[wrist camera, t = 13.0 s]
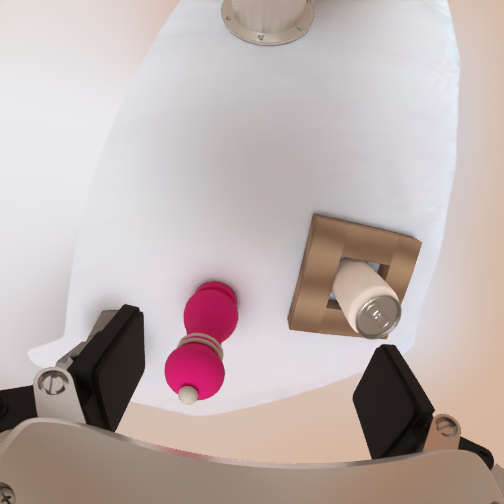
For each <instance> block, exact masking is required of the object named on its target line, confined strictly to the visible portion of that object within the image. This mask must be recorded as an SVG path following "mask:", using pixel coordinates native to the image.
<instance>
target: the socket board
mask: <svg viewBox="0 0 504 504" xmlns="http://www.w3.org/2000/svg"><path fill="white" fill-rule="evenodd" d="M421 244H422V242H421V241H419V240H417V239H415V238H414V237H411V236H407V235H403V234H400V233H396V232H391V231H387V230H383V229H379V228H375V227H371V226H366V225H362V224H358V223H353V222H349V221H344V220H340V219H335V218H331V217H326V216H321V215H316V214H313V218H312V223H311V227H310V232H309V236H308V240H307V244H306V249H305V253H304V257H303V261H302V265H301V269H300V273H299V277H298V281H297V285H296V289H295V293H294V297H293V301H292V304H291V308H290V312H289V315H288V324H289V330H297V331H305V332H313V333H322V334H331V335H341V336H352V337H362V336H361V335H360V334H359V333H357V332H356V331H354V330H353V328H352V327H351V326H350V324H349V322H348V320H347V318H346V317H345V315H344V313H343V311H342V309H341V307H340V305H339V303H338V301H337V300H331V299H329V296H330V293H331V290H332V286H333V283H334V280H335V276H336V273H337V269H338V266H339V262H340V259H341V256H343V257H348V258H354V259H359V260H364V261H369V262H375V263H380V267H379V270H378V273H377V274H378V275H379V276H380V277H381V278H382V279H383V280H384V281H385V282H386V283H387V284H388V285H389V286H390V287H391V288H392V289H393V291H394V292H395V293H396V295H397V297H398V300H399V303H400V305H401V303H402V301H403V298H404V295H405V293H406V290H407V287H408V284H409V282H410V279H411V276H412V273H413V270H414V267H415V264H416V261H417V257H418V254H419V251H420V248H421ZM387 337H388V335H386V336H384V337H382V338H379V339H387ZM363 338H364V337H363Z"/></svg>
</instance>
